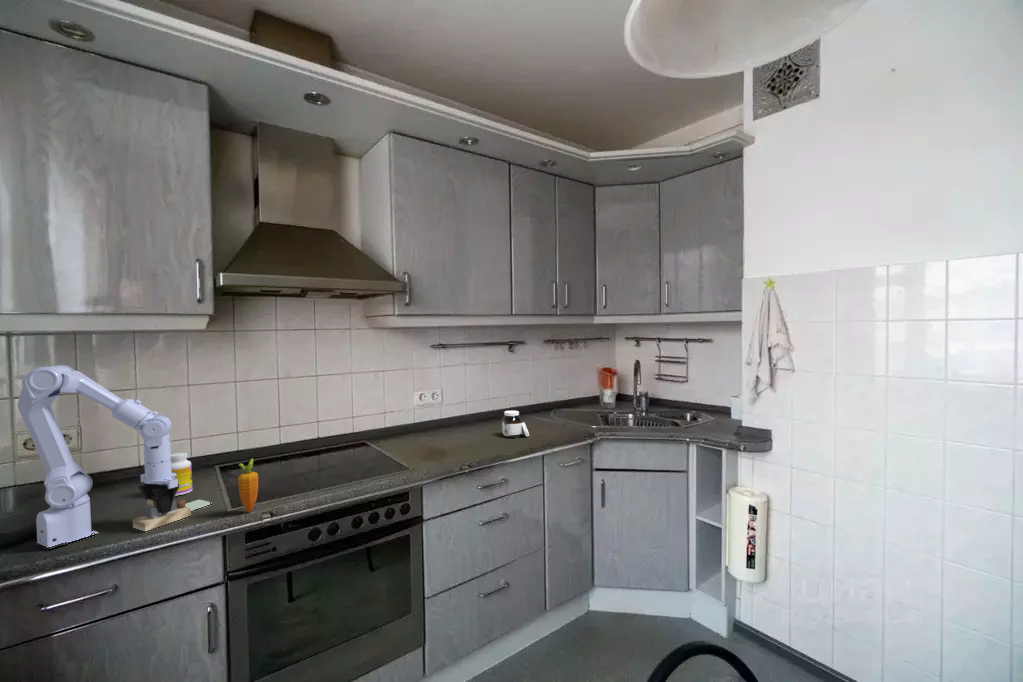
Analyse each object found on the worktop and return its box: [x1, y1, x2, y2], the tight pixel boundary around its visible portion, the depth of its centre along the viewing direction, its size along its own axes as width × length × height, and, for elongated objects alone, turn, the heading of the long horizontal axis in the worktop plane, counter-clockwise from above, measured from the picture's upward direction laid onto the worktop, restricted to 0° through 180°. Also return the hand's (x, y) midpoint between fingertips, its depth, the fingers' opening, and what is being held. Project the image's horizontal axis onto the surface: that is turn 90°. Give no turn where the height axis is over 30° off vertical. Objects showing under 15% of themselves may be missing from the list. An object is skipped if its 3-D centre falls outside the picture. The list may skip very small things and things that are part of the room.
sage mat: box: [185, 499, 213, 512], centre depth 135 cm, size 8×8×1 cm
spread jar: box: [501, 410, 530, 439], centre depth 212 cm, size 12×11×12 cm
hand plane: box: [132, 498, 192, 531], centre depth 124 cm, size 11×6×4 cm, turn 153°
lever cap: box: [142, 497, 177, 518], centre depth 123 cm, size 6×4×4 cm, turn 153°
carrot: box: [237, 458, 259, 513], centre depth 129 cm, size 5×5×15 cm
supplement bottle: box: [171, 452, 193, 497], centre depth 147 cm, size 7×7×13 cm
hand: (160, 510), depth 123 cm, fingers open, 5 cm apart
